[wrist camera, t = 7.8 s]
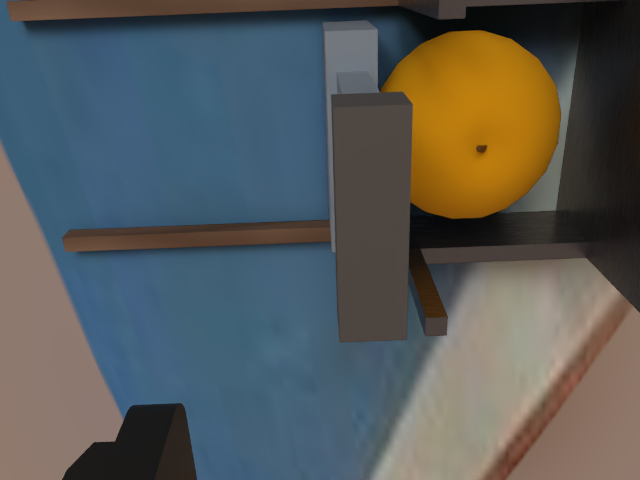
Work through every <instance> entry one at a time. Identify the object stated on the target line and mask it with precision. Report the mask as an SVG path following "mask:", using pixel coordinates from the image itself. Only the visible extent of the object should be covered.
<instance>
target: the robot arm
mask: <svg viewBox="0 0 640 480" xmlns="http://www.w3.org/2000/svg"><path fill="white" fill-rule="evenodd" d="M62 480H197V477H196V470H195V464H194V458H193V452H192V446H191V440H190V434H189V429H188V423H187V417H186V412H185V408H184V406H183V405H182V404H181V403H177V404H152V405H133V406H131V407H130V408H129V410H128V412H127V414H126V416H125V419H124V421H123V424H122V426H121V428H120V431H119V433H118V436H117V438H116V441H115V442H94V443H93V444H92V445H91V446H90V447H89V448H88V449H87V450H86V451H85V452H84V453H83V454H82V455H81V456H80V457H79V458H78V459H77V460H76V461H75V462H74V463H73V464H72V466H71V467H69V468H68V470H67V471H66V473H65V475H64V477H63V479H62Z"/></svg>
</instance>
